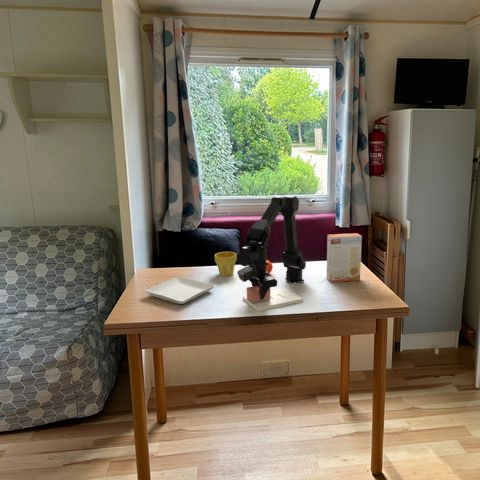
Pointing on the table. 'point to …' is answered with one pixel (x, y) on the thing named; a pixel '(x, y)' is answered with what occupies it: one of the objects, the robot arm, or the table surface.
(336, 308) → the table surface
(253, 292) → the block
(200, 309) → the table surface
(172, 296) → the salad plate
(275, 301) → the board
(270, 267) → the clementine
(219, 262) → the plant pot
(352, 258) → the cracker box
